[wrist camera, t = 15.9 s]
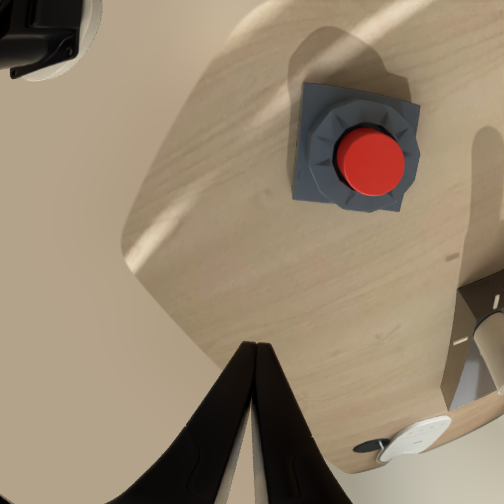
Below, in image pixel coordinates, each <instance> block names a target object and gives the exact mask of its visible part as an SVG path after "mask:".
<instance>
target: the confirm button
mask: <svg viewBox="0 0 504 504" xmlns="http://www.w3.org/2000/svg"><path fill="white" fill-rule="evenodd" d="M337 163H338V166H339V169H340V171H341V173H342V174H343V176H344V177H345V178H346V180H347V181H348V183H349V184H350V185H351V187H352V188H353V189H355V190H356V191H357V192H359V193H361V194H364V195H368V196H379V195H383V194H385V193H388V192H389V191H391V190H392V189H393V188H395V187H396V185H397V184H398V183H399V182H400V180H401V178H402V176H403V172H404V167H405V161H404V155H403V152H402V150H401V148H400V146H399V145H398V144H397V142H396V141H395V140H393V139H392V138H391V137H389V136H387V135H385V134H384V133H382V132H380V131H378V130H375V129H372V128H359V129H355V130H353V131H351V132H350V133H348V134H347V135H346V136H345V137H344V138H343V140H342V141H341V143H340V145H339V147H338V151H337Z"/></svg>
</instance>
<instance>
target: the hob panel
mask: <svg viewBox="0 0 504 504" xmlns="http://www.w3.org/2000/svg"><path fill="white" fill-rule="evenodd" d="M498 312H501V313H503V314H504V270H503V271H500V272H498V273H496V274H493V275H491V276H488V277H486V278H484V279H481V280H479V281H476V282H474V283H471V284H469V285H466V286H464V287H461V288H458V289H457V298H456V307H455V315H454V322H453V329H452V335H451V341H450V347H449V352H448V357H447V362H446V367H445V371H444V375H443V380H442V384H441V391H442V394H443V397H444V400H445V403H446V406H447V409H448V412H449V411H452V410H454V409H457V408H459V407H461V406H464V405H466V404H468V403H471V402H473V401H475V400H477V399H479V398H482V397H484V396H486V395H488V394H490V393H492V392H494V391H496V390H497V388H496V386H495V383H494V381H493V379H492V376H491V374H490V372H489V370H488V368H487V365H486V363H485V361H484V359H483V357H482V355H481V353H480V351H479V349H478V347H477V345H476V343H475V341H474V333H475V331H476V329H477V328H478V326H479V325H480V324H481V323H482V322H483V321H484V320H485V319H486V318H488V317H489V316H491V315H492V314H495V313H498Z"/></svg>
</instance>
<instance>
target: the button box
mask: <svg viewBox="0 0 504 504" xmlns="http://www.w3.org/2000/svg"><path fill="white" fill-rule="evenodd" d="M419 112H420V105H417V104H413V103H410V102H406V101H402V100H398V99H394V98H390V97H386V96H382V95H378V94H373V93H368V92H363V91H358V90H353V89H348V88H342V87H336V86H329V85H322V84H315V83H307V82H303V83H302V88H301V101H300V113H299V124H298V135H297V146H296V156H295V166H294V175H293V185H292V199H293V200H300V201H311V202H320V203H330V204H336V205H338V206H339V207H341V208H342V209H344V210H351V211H360V212H368V213H371V212H374V211H376V210H387V211H394V212H399V211H400V207H401V203H402V199H403V195H404V193H405V192H406V191H407V189H408V188H409V187H410V186H411V185H412V183H413V182H414V180H415V176H416V171H417V167H418V162H419V157H420V152H419V148H418V144H417V141H416V132H417V126H418V119H419ZM359 128H372V129H375V130H378V131H380V132H382V133H384V134H385V135H387V136H389V137H391V138H392V139H393V140H395V141H396V142H397V144H398V145H399V146H400V148H401V150H402V152H403V155H404V161H405V167H404V172H403V176H402V178H401V180H400V182H399V183H398V184H397V185H396V187H395V188H393V189H392V190H391V191H389V192H388V193H385V194H383V195H379V196H368V195H364V194H361V193H359V192H357V191H356V190H355V189H353V188H352V187H351V185H350V184H349V183H348V181H347V180H346V178H345V177H344V176H343V174H342V173H341V171H340V169H339V166H338V163H337V151H338V147H339V145H340V143H341V141H342V140H343V138H344V137H345V136H346V135H347V134H348V133H350V132H351V131H353V130H355V129H359Z"/></svg>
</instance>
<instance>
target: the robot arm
mask: <svg viewBox="0 0 504 504" xmlns="http://www.w3.org/2000/svg"><path fill="white" fill-rule="evenodd" d="M82 7H83V0H0V70H1V69H8V68H10V77H11V78H12V79H17V78H20V77H22V76H25V75H28V74H30V73H33V72H36V71H38V70H41V69H44V68H47V67H50V66H53V65H56V64H59V63H63V62H66V61H69V60H73V59H75V58H76V57H77V55H78V53H79V39H80V26H81V17H82ZM71 50H72V54H71V55H70V51H71ZM256 345H257V347H256ZM251 398H252V400H251ZM250 407H251V422H252V424H251V425H252V444H253V446H252V447H253V468H254V488H255V504H353V503H352V502H351V500H350V499H349V498H348V496H347V495H346V493H345V492H344V490H343V489H342V487H341V486H340V485H339V483H338V481H337V480H336V479H335V477H334V476H333V474H332V472H331V471H330V469H329V467H328V466H327V464H326V462H325V460H324V458H323V457H322V455H321V453H320V451H319V449H318V447H317V444H316V442H315V440H314V438H313V437H311V436H312V434H311V432H310V430H309V427H308V425H307V423H306V421H305V419H304V416H303V414H302V412H301V410H300V408H299V405H298V403H297V401H296V399H295V397H294V394H293V392H292V390H291V388H290V385H289V383H288V381H287V379H286V376H285V374H284V372H283V370H282V367H281V365H280V363H279V361H278V358H277V356H276V354H275V352H274V349H273V347H272V345H271V344H270V343H262V342H259V343H257V344H256V342H250V341H243V342H242V343H241V344H240V346H239V348H238V349H237V351H236V352H235V354H234V355H233V357H232V358H231V360H230V361H229V363H228V364H227V366H226V367H225V369H224V370H223V372H222V373H221V375H220V376H219V378H218V379H217V381H216V382H215V383H214V385H213V387H212V388H211V389H210V391H209V392H208V394H207V395H206V397H205V398H204V400H203V401H202V402H201V404H200V405H199V407H198V408H197V410H196V411H195V413H194V414H193V415H192V417H191V418H190V420H189V421H188V422H187V424H186V426H187V427H186V426H185V427H184V428H183V429H182V431H181V432H180V433H179V435H178V436H177V437H176V439H175V440H174V441H173V443H172V444H171V445H170V446H169V448H168V449H167V450H166V451H165V452H164V454H162V456H161V457H160V458H159V459H158V460H157V461H156V462H155V463H154V464H153V465H152V466H151V467H150V468H149V469H148V470H147V471H146V472H145V473H144V474H143V475H142V476H141V477H140V478H139V479H138V480H137V481H136V482H135V483H134V484H133V485H131V486H130V487H129V488H128V489H127V490H126V491H125V492H123V493H122V494H121V495H119V496H118V497H116V498H115V499H113V500H111V501H110V502H107V503H106V504H226V502H227V499H228V495H229V491H230V487H231V484H232V480H233V476H234V472H235V469H236V465H237V460H238V457H239V453H240V449H241V445H242V441H243V437H244V433H245V429H246V425H247V421H248V417H249V412H250ZM0 504H14V503H12V502H11V501H9V500H8V499H7V498H5V497H4V496H3V495H1V494H0Z"/></svg>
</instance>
